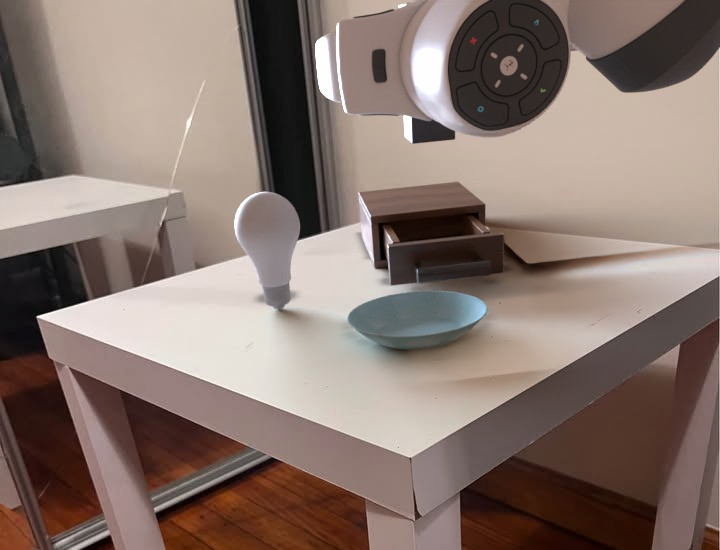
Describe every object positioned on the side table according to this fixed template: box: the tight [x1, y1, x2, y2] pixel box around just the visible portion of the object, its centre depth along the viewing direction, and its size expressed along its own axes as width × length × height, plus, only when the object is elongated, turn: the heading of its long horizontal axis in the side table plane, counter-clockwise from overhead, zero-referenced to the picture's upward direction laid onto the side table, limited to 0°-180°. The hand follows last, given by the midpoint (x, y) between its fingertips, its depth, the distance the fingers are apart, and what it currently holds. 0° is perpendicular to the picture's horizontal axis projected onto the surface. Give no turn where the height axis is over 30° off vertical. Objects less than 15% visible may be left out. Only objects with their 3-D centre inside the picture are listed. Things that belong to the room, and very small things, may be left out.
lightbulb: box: [233, 191, 301, 310], centre depth 73 cm, size 6×6×11 cm
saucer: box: [346, 290, 489, 351], centre depth 65 cm, size 12×12×2 cm
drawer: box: [380, 213, 505, 286], centre depth 80 cm, size 17×11×4 cm, turn 6°
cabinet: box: [357, 181, 486, 269], centre depth 91 cm, size 15×13×6 cm
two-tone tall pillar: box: [397, 1, 456, 145], centre depth 69 cm, size 4×5×11 cm
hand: (424, 53), depth 69 cm, fingers closed on two-tone tall pillar, 4 cm apart
